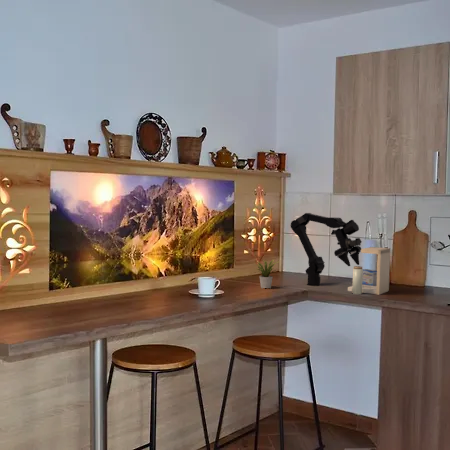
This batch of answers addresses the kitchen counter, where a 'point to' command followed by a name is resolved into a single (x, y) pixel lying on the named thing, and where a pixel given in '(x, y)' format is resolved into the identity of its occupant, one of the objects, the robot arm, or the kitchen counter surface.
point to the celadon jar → (357, 280)
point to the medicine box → (369, 277)
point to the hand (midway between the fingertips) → (354, 265)
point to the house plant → (266, 274)
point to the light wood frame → (378, 271)
